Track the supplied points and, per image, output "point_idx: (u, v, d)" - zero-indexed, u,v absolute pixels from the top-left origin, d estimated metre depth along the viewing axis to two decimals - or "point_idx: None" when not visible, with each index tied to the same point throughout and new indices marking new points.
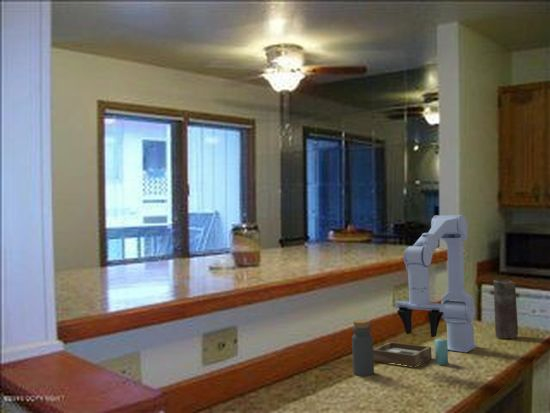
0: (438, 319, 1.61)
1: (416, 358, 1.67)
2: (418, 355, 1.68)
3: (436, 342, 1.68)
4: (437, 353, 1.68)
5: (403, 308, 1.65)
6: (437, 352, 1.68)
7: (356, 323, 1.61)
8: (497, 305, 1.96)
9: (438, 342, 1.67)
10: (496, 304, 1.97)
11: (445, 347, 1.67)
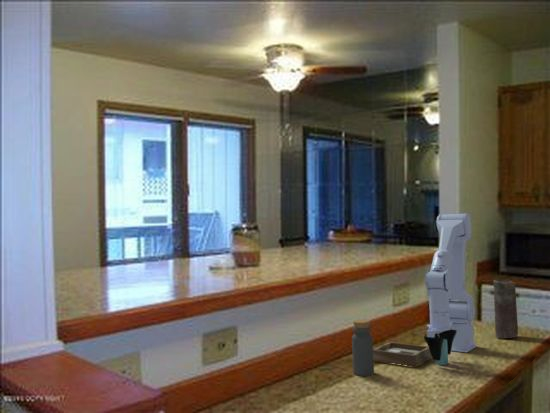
0: None
1: (416, 358, 1.67)
2: (418, 355, 1.68)
3: None
4: None
5: None
6: None
7: (356, 323, 1.61)
8: (497, 305, 1.96)
9: None
10: (496, 304, 1.97)
11: (445, 347, 1.67)
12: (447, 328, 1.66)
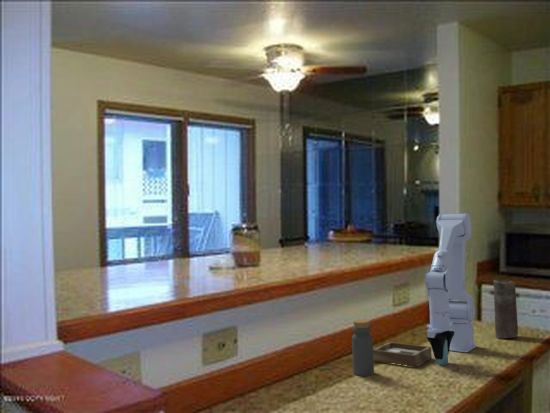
0: None
1: (416, 358, 1.67)
2: (418, 355, 1.68)
3: None
4: None
5: None
6: None
7: (356, 323, 1.61)
8: (497, 305, 1.96)
9: None
10: (496, 304, 1.97)
11: (445, 347, 1.67)
12: (447, 328, 1.66)
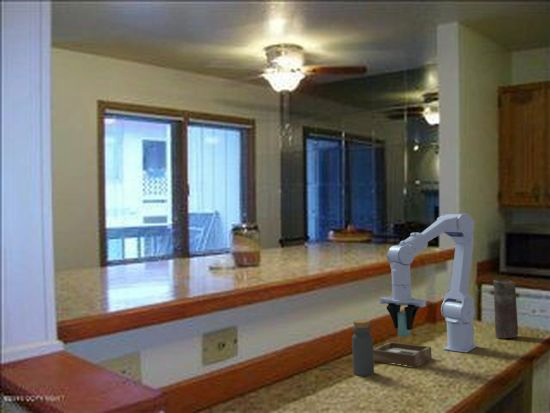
0: (414, 313, 1.73)
1: (416, 358, 1.67)
2: (418, 355, 1.68)
3: None
4: None
5: (392, 304, 1.75)
6: None
7: (356, 323, 1.61)
8: (497, 305, 1.96)
9: None
10: (496, 304, 1.97)
11: None
12: None
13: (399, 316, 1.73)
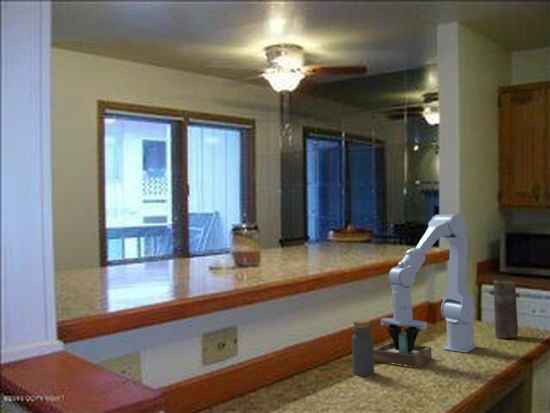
0: (415, 335, 1.73)
1: (416, 358, 1.67)
2: (418, 355, 1.68)
3: None
4: None
5: (393, 325, 1.75)
6: None
7: (356, 323, 1.61)
8: (497, 305, 1.96)
9: None
10: (496, 304, 1.97)
11: None
12: None
13: (400, 338, 1.73)
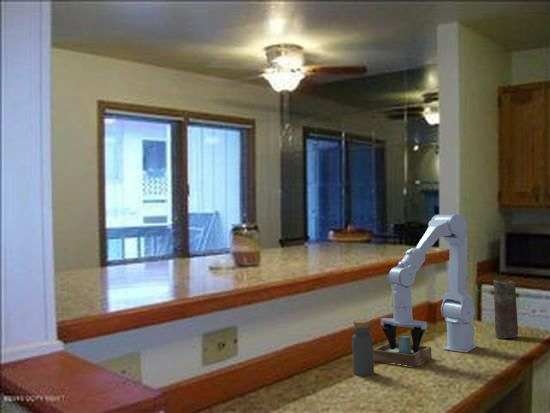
0: (420, 336, 1.72)
1: (416, 358, 1.67)
2: (418, 355, 1.68)
3: (407, 339, 1.73)
4: (408, 350, 1.73)
5: (388, 325, 1.76)
6: (408, 349, 1.73)
7: (356, 323, 1.61)
8: (497, 305, 1.96)
9: (409, 339, 1.73)
10: (496, 304, 1.97)
11: None
12: None
13: (400, 341, 1.73)
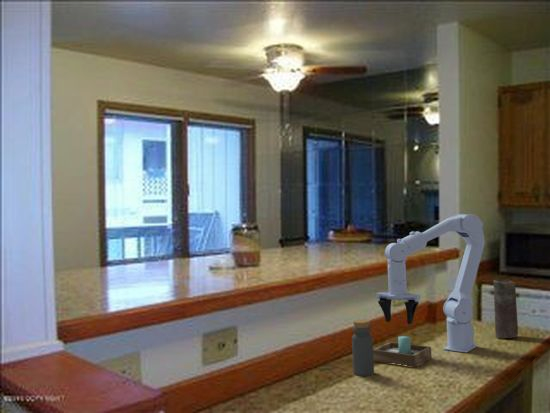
0: (414, 308, 1.80)
1: (416, 358, 1.67)
2: (418, 355, 1.68)
3: (407, 339, 1.73)
4: (408, 350, 1.73)
5: (383, 298, 1.85)
6: (408, 349, 1.73)
7: (356, 323, 1.61)
8: (497, 305, 1.96)
9: (409, 339, 1.73)
10: (496, 304, 1.97)
11: None
12: None
13: (400, 341, 1.73)
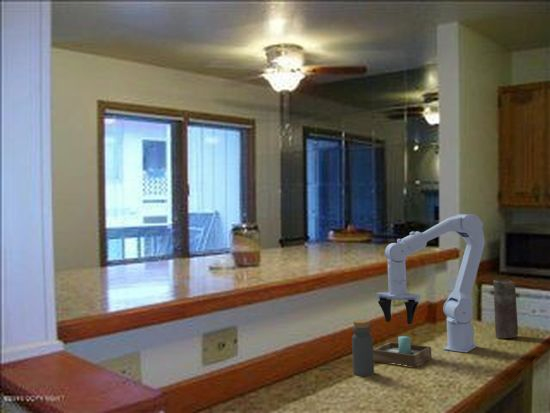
0: (414, 308, 1.81)
1: (416, 358, 1.67)
2: (418, 355, 1.68)
3: (407, 339, 1.73)
4: (408, 350, 1.73)
5: (383, 298, 1.85)
6: (408, 349, 1.73)
7: (356, 323, 1.61)
8: (497, 305, 1.96)
9: (409, 339, 1.73)
10: (496, 304, 1.97)
11: None
12: None
13: (400, 341, 1.73)
